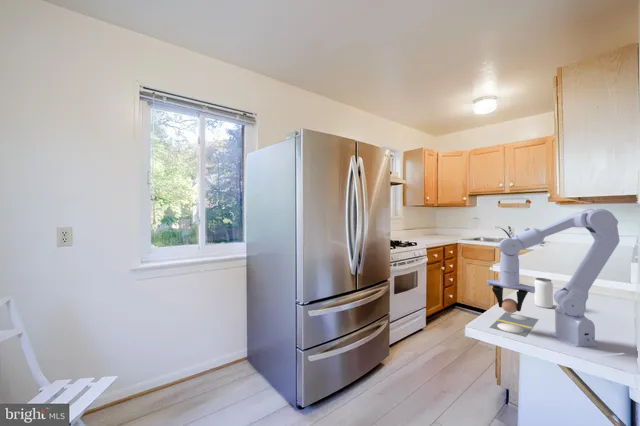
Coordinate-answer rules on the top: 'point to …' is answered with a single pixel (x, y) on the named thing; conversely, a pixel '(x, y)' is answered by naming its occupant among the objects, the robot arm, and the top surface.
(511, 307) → the ball
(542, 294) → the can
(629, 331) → the top surface
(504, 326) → the white disc
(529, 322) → the mat
